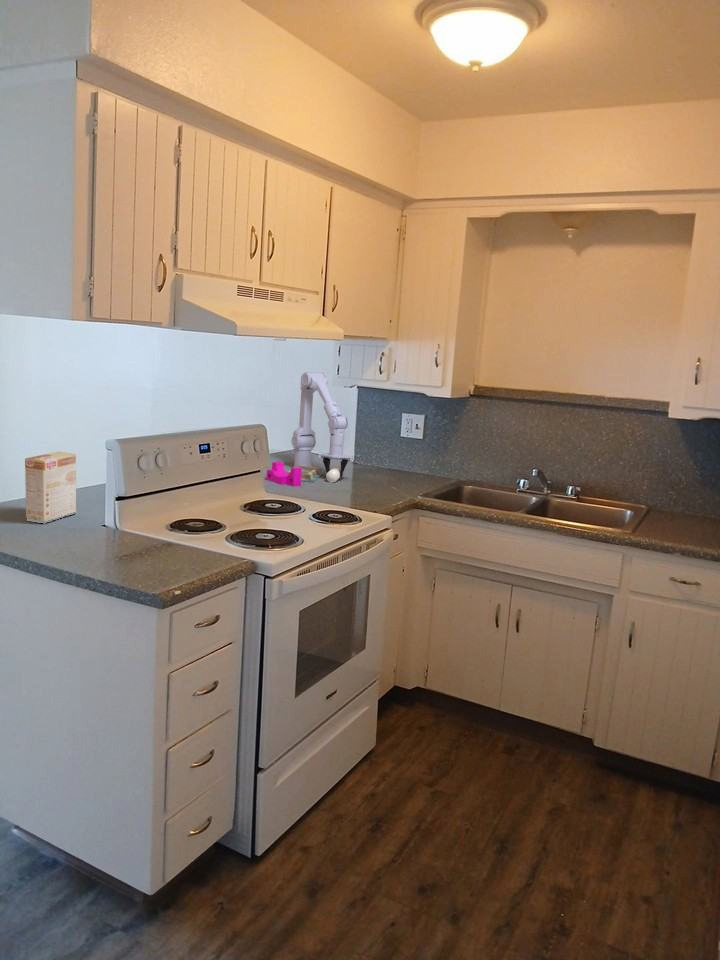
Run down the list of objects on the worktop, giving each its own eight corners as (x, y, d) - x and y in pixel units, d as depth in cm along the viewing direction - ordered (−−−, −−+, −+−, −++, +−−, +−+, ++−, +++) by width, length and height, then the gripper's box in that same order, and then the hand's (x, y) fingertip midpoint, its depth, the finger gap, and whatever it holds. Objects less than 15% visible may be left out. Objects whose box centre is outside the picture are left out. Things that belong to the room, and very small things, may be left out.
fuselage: (331, 476, 333) (332, 465, 332) (342, 478, 332) (343, 466, 331) (325, 482, 321) (326, 470, 320) (337, 483, 320) (338, 471, 319)
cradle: (291, 471, 339) (292, 464, 338) (322, 474, 337) (323, 467, 336) (280, 479, 320) (280, 472, 319) (313, 482, 318) (313, 475, 317)
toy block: (266, 480, 317) (267, 462, 315) (278, 479, 321) (279, 461, 319) (288, 487, 306) (289, 469, 304) (300, 486, 310) (301, 468, 309)
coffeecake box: (58, 511, 245) (58, 451, 241) (77, 514, 243) (77, 453, 239) (24, 521, 231) (23, 457, 227) (44, 525, 229) (43, 460, 225)
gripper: (317, 444, 321) (315, 476, 323) (352, 447, 319) (349, 479, 321) (321, 441, 327) (319, 473, 330) (354, 445, 325) (352, 476, 328)
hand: (334, 476), depth 326 cm, fingers closed on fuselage, 5 cm apart
